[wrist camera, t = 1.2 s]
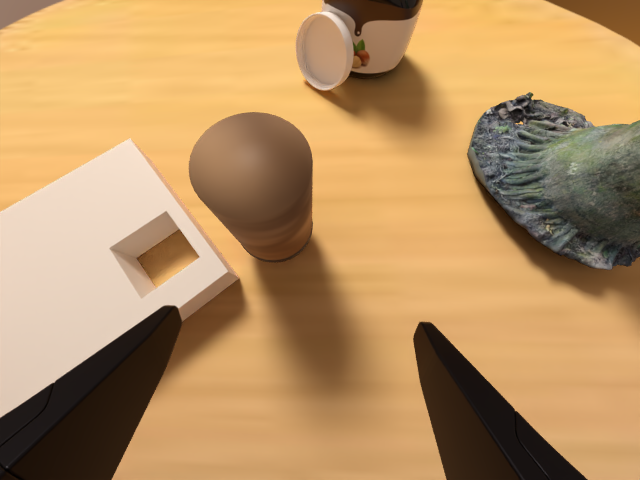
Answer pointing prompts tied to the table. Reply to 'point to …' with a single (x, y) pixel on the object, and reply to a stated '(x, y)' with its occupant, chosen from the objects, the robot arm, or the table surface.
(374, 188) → the table surface
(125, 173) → the white board
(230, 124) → the walnut peg
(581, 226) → the tree stump
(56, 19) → the table surface
